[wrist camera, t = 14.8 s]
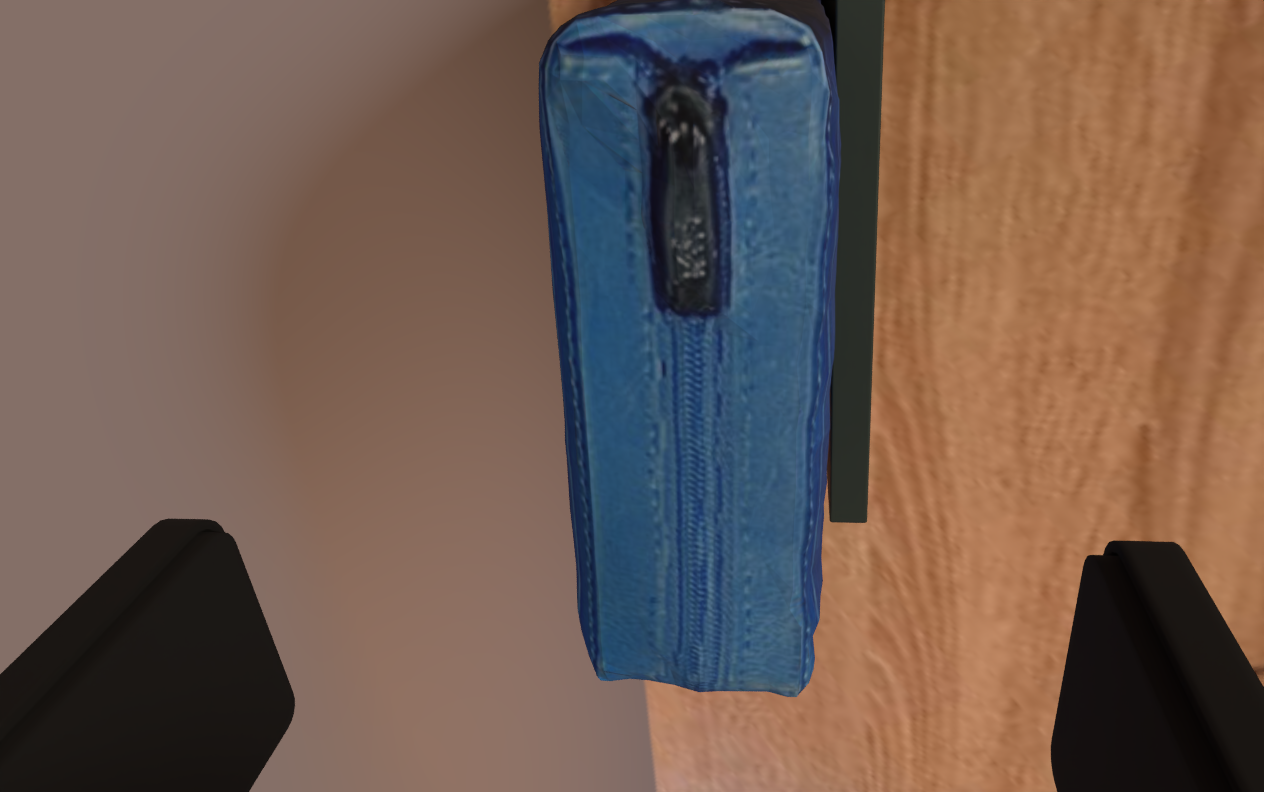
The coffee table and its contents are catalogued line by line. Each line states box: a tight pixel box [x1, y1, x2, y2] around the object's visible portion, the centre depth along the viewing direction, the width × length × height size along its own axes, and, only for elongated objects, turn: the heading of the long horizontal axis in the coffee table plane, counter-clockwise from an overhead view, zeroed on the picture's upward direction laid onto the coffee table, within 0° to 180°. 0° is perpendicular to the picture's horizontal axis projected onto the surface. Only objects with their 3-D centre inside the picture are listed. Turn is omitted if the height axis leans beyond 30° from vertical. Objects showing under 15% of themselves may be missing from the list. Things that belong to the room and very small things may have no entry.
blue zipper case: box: [539, 0, 841, 697], centre depth 24 cm, size 14×5×20 cm, turn 3°
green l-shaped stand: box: [820, 0, 885, 523], centre depth 28 cm, size 6×15×15 cm, turn 5°
